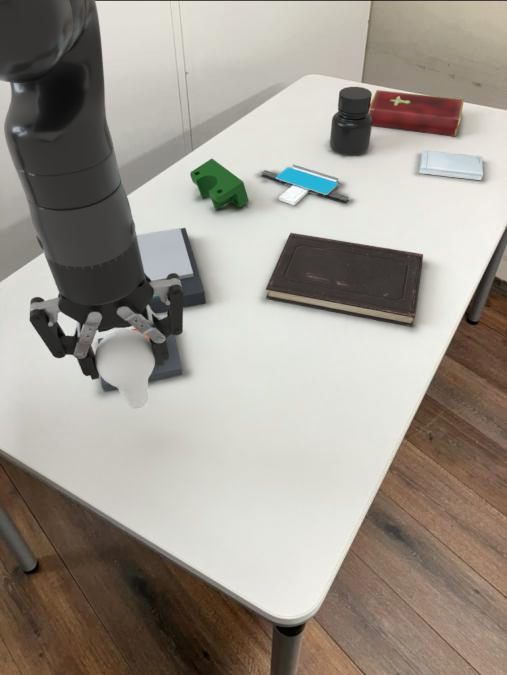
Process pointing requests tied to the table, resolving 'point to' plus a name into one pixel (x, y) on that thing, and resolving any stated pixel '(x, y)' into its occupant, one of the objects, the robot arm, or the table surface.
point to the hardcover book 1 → (347, 278)
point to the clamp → (219, 184)
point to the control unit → (159, 372)
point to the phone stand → (305, 184)
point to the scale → (171, 264)
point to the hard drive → (451, 165)
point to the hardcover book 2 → (416, 112)
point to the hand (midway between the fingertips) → (127, 366)
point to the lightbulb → (126, 364)
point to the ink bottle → (352, 122)
